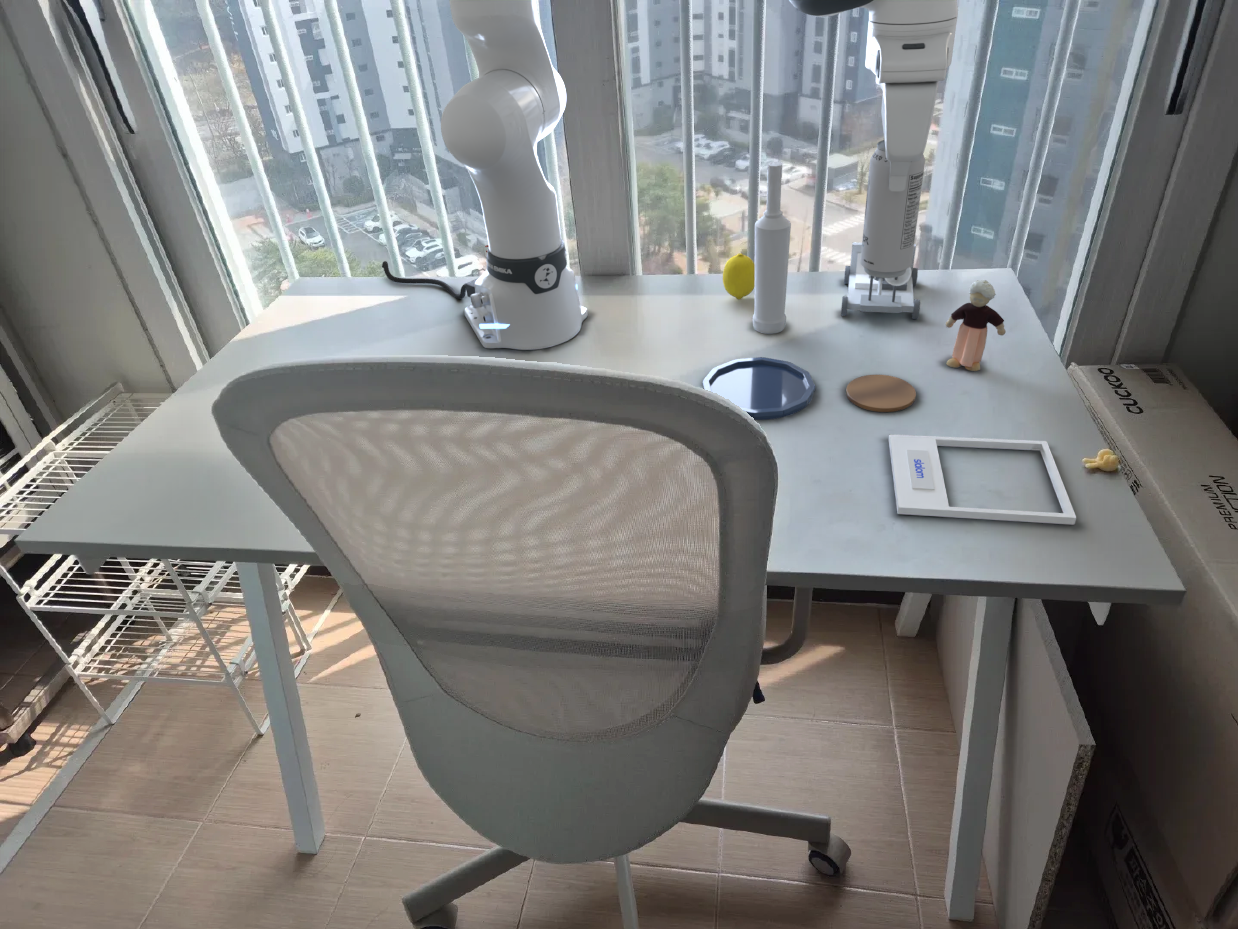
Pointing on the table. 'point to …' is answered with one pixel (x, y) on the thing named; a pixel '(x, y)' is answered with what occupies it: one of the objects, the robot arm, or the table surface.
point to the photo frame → (926, 489)
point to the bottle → (771, 258)
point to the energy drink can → (890, 218)
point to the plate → (762, 386)
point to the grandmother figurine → (974, 326)
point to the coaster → (881, 393)
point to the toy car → (879, 289)
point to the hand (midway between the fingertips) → (895, 179)
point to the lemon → (739, 276)
